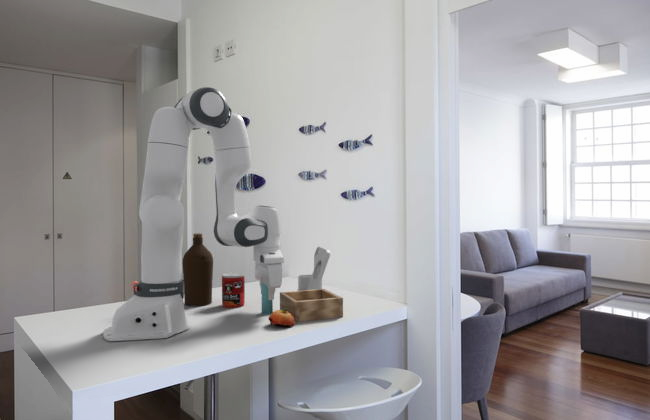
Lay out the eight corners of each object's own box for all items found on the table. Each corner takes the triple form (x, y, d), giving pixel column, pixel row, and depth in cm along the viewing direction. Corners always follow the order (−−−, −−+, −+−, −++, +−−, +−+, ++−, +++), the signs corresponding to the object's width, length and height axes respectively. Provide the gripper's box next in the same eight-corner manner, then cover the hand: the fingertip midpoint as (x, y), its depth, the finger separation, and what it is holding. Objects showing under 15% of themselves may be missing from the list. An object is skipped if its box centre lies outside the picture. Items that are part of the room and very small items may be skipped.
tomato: (288, 325, 133) (275, 304, 136) (271, 339, 135) (259, 318, 138) (302, 323, 140) (289, 303, 143) (286, 336, 142) (274, 316, 145)
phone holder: (296, 290, 190) (296, 246, 190) (320, 289, 193) (320, 245, 192) (305, 299, 174) (305, 251, 173) (332, 298, 176) (332, 250, 176)
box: (295, 321, 143) (295, 302, 142) (279, 310, 157) (279, 292, 157) (343, 316, 149) (343, 297, 149) (323, 305, 163) (323, 288, 163)
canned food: (218, 307, 161) (218, 275, 161) (228, 302, 169) (228, 272, 169) (238, 308, 159) (238, 276, 159) (248, 303, 167) (247, 272, 167)
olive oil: (219, 301, 170) (219, 233, 169) (200, 308, 160) (200, 235, 160) (196, 299, 174) (195, 232, 174) (176, 305, 165) (175, 234, 164)
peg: (263, 314, 151) (263, 277, 151) (260, 312, 154) (260, 276, 154) (273, 313, 153) (273, 277, 152) (270, 311, 156) (270, 275, 156)
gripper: (250, 252, 161) (250, 291, 162) (265, 259, 142) (266, 304, 143) (267, 251, 164) (268, 290, 164) (285, 258, 145) (285, 302, 145)
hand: (267, 297), depth 153 cm, fingers open, 7 cm apart
